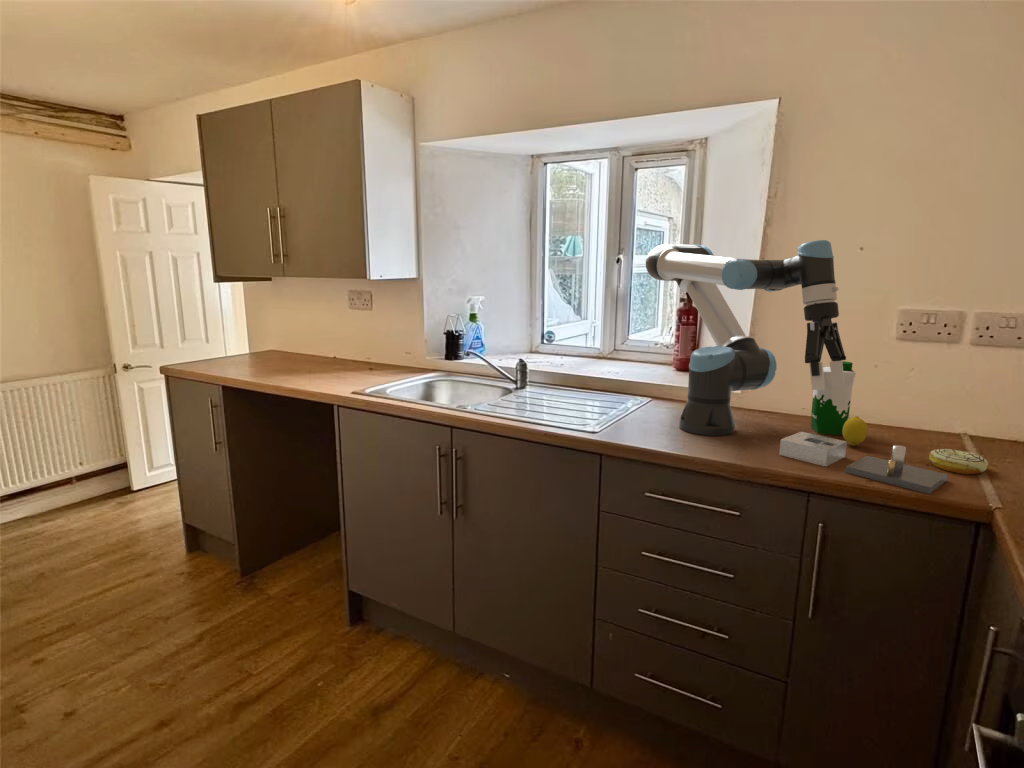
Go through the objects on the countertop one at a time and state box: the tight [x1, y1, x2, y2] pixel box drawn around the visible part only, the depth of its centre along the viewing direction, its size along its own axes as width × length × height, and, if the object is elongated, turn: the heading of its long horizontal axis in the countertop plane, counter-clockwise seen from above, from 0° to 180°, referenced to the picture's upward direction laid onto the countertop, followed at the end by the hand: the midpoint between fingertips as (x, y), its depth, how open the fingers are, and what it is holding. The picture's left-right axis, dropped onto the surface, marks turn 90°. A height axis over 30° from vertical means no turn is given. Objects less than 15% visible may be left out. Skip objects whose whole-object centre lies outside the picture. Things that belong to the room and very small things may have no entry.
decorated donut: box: [928, 448, 989, 475], centre depth 131 cm, size 10×11×4 cm
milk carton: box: [810, 360, 856, 436], centre depth 159 cm, size 9×9×20 cm
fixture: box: [844, 444, 948, 495], centre depth 125 cm, size 16×12×7 cm
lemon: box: [842, 415, 868, 447], centre depth 147 cm, size 6×6×8 cm
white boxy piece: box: [778, 431, 848, 468], centre depth 139 cm, size 11×11×4 cm
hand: (828, 388), depth 141 cm, fingers open, 13 cm apart
